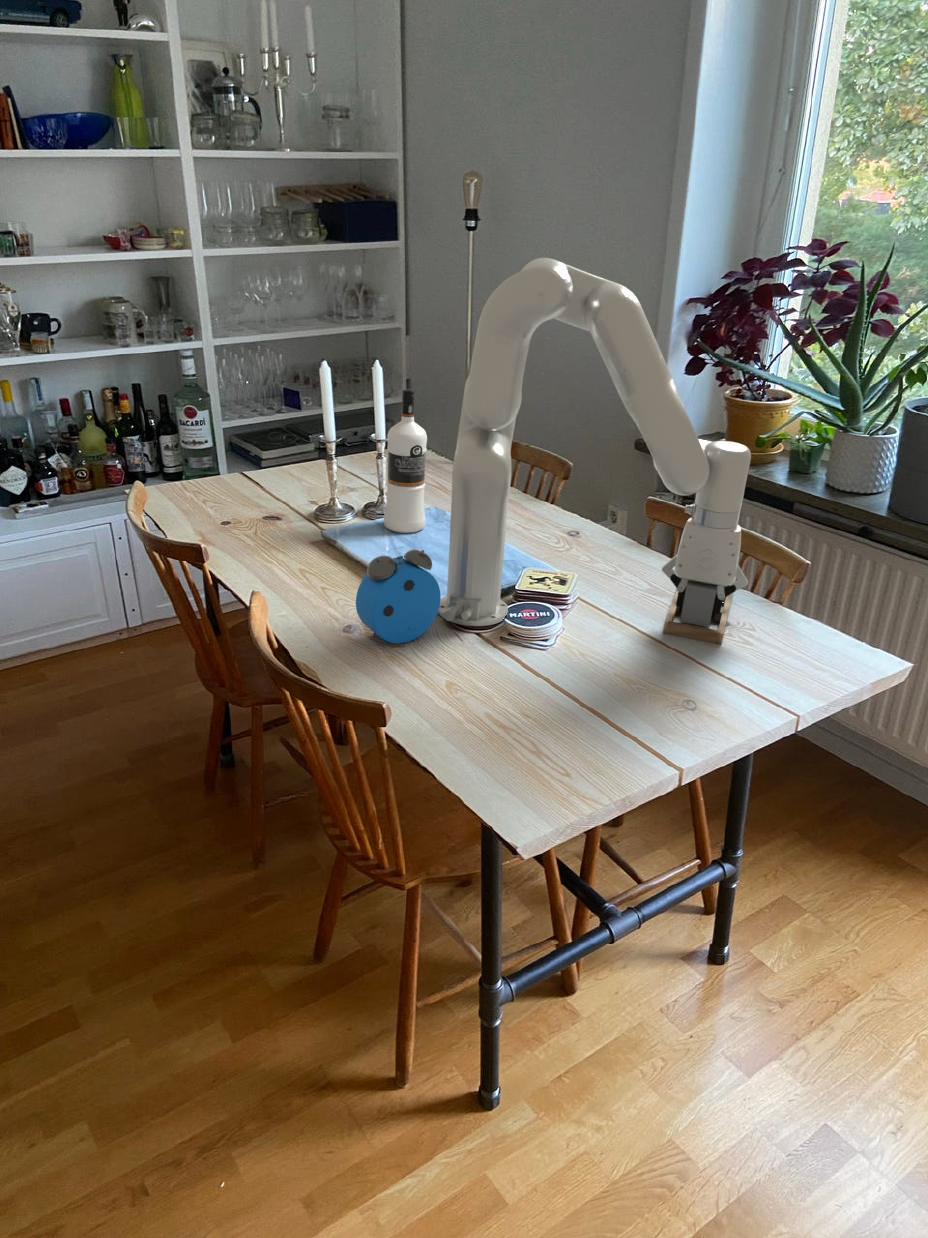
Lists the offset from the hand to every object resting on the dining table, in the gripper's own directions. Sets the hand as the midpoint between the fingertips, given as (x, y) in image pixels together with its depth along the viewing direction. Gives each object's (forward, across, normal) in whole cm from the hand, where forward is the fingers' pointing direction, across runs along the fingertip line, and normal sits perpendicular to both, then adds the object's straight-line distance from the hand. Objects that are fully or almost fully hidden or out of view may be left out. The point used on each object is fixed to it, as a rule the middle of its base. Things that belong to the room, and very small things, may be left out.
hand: (697, 612), depth 161 cm
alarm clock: (+3, -46, -27) cm, 53 cm away
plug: (+1, 0, 0) cm, 1 cm away
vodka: (+3, -66, +23) cm, 70 cm away
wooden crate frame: (+3, 0, +9) cm, 10 cm away
